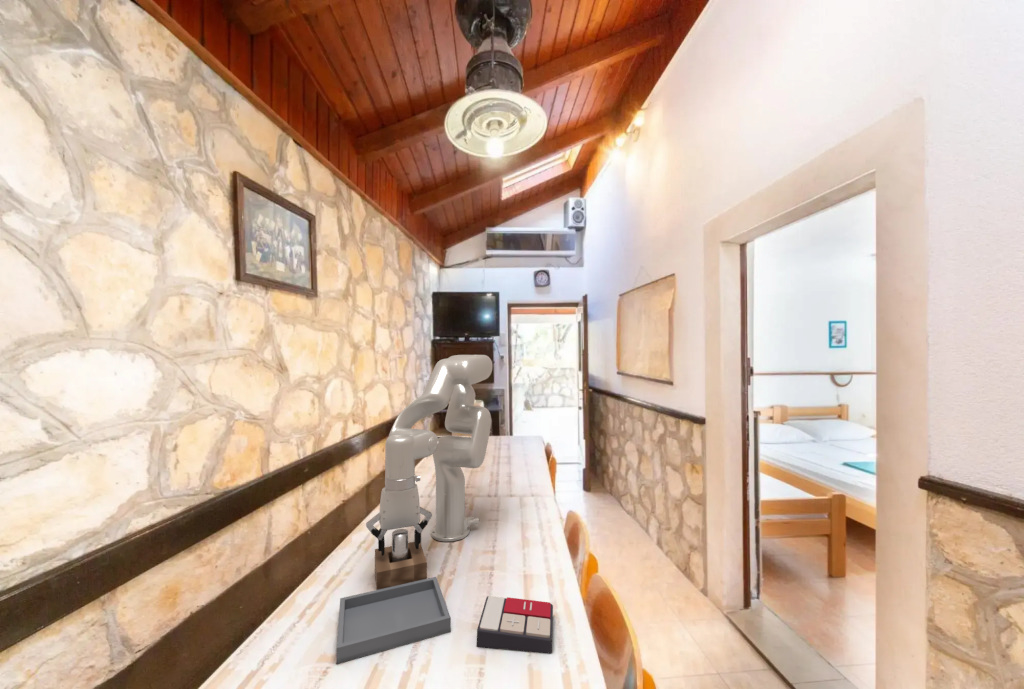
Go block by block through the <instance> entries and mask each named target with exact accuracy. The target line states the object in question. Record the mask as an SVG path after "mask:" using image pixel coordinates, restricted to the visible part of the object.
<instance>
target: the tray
mask: <svg viewBox="0 0 1024 689" xmlns="http://www.w3.org/2000/svg"><path fill="white" fill-rule="evenodd" d="M451 622H452V620H451V615H450V611H449V609H448V606H447V603H446V600H445V598H444V595H443V592H442V589H441V587H440V584H439V581H438V577H437V576H434V577H429V578H428V577H427V579H424V580H419V581H415V582H410V583H406V584H401V585H397V586H393V587H388V588H384V589H379V590H376V589H374V590H371V591H367V592H366V591H365V592H363V593H362V592H361V593H358V594H353V595H349V596H344V597H340V598H339V609H338V625H337V639H336V665H339V664H343V663H345V662H346V663H347V662H350V661H354V660H356V659H360V658H364V657H367V656H370V655H375V654H377V653H381V652H385V651H388V650H391V649H395V648H396V649H397V648H399V647H403V646H405V645H409V644H413V643H416V642H420V641H423V640H427V639H430V638H434V637H437V636H441V635H445V634H448V633H451V631H452V630H451V629H452V628H451V627H452V626H451V624H452V623H451Z"/></svg>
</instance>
